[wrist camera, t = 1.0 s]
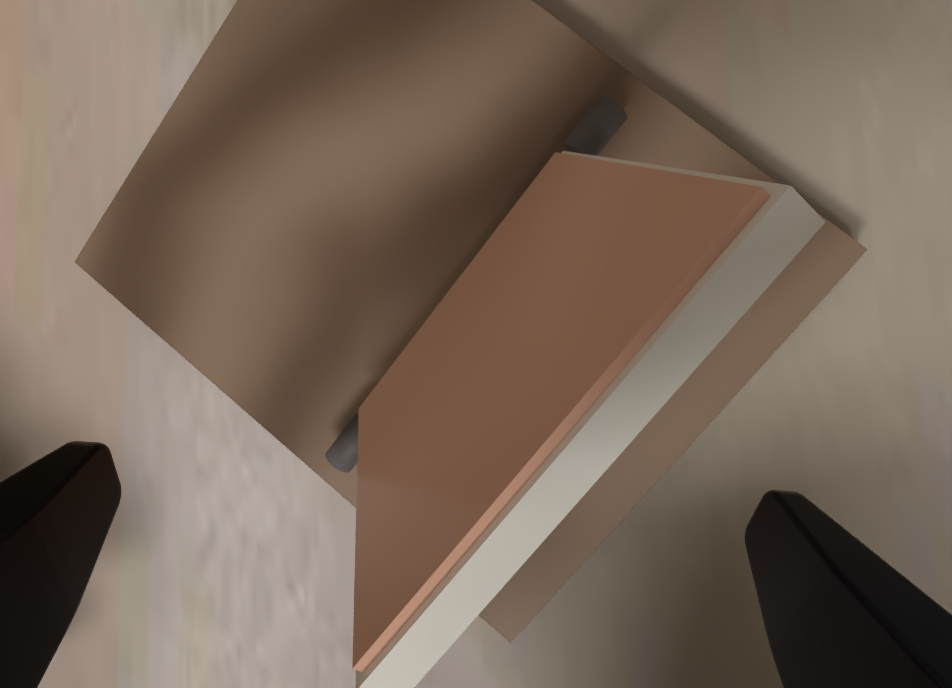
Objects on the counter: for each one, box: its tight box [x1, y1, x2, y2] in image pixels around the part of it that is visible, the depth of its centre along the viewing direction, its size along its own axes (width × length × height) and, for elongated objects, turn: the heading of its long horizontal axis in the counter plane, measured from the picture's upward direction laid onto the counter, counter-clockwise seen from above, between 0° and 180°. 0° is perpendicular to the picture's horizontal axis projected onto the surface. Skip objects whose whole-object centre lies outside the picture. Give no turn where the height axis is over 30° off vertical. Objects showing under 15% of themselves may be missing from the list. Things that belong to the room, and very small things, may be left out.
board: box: [75, 0, 867, 643], centre depth 19 cm, size 20×16×2 cm
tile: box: [353, 151, 825, 688], centre depth 14 cm, size 10×10×1 cm
